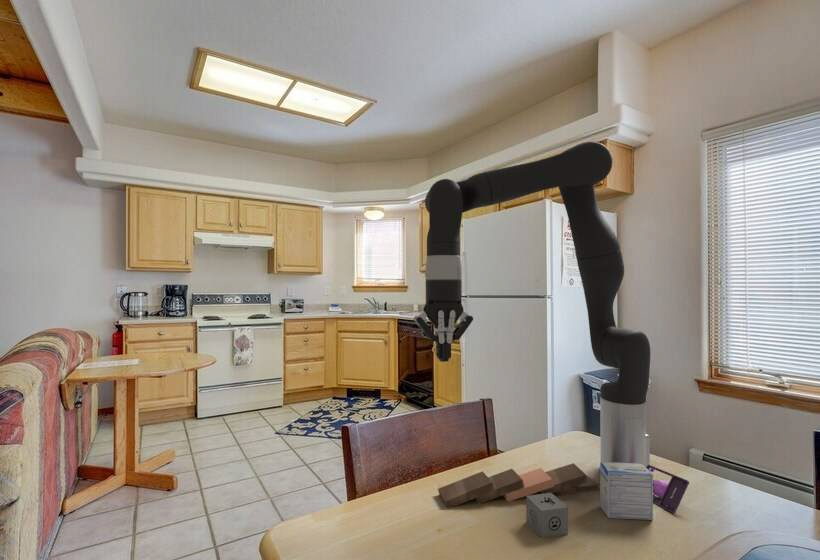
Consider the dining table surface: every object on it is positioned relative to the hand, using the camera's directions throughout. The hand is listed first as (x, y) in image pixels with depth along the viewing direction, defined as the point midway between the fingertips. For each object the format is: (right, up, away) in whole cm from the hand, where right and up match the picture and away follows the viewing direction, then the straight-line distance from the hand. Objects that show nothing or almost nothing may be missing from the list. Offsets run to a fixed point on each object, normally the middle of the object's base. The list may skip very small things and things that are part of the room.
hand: (443, 360), depth 86 cm
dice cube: (+17, -27, -14) cm, 35 cm away
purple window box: (+45, -25, -8) cm, 53 cm away
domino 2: (+5, -26, -4) cm, 27 cm away
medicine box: (+33, -27, -9) cm, 44 cm away
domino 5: (+22, -27, 0) cm, 35 cm away
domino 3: (+12, -26, -2) cm, 29 cm away
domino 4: (+19, -26, -1) cm, 32 cm away
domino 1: (-1, -26, -5) cm, 27 cm away
